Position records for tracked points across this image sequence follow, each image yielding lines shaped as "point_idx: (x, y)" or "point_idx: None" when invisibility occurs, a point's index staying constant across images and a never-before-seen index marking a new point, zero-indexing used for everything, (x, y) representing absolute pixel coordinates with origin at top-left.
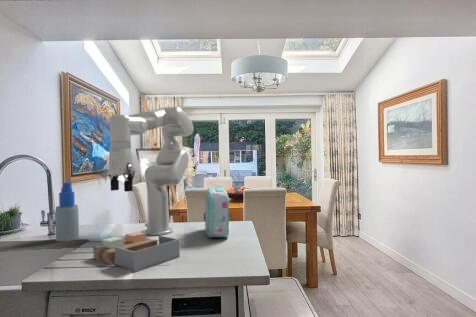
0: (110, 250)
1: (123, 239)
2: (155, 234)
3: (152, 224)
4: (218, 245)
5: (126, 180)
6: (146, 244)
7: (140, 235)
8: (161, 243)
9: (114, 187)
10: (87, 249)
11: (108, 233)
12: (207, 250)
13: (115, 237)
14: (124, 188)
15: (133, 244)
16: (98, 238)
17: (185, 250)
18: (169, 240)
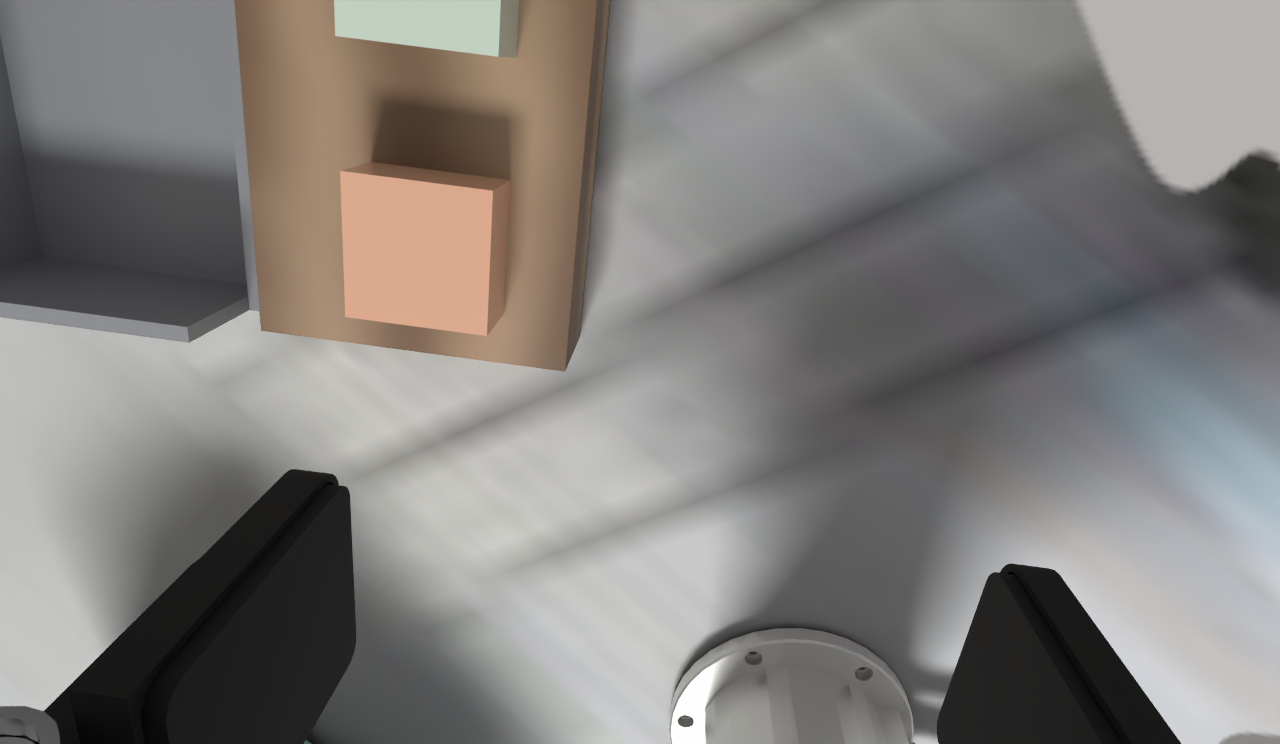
0: None
1: (342, 34)
2: (728, 644)
3: (784, 722)
4: (73, 592)
5: (18, 742)
6: (257, 205)
7: (348, 255)
8: (192, 302)
9: (998, 687)
10: (971, 40)
11: (1257, 547)
12: (28, 470)
13: (454, 17)
14: (287, 512)
15: (318, 115)
16: (1209, 377)
17: (152, 408)
18: (47, 299)
